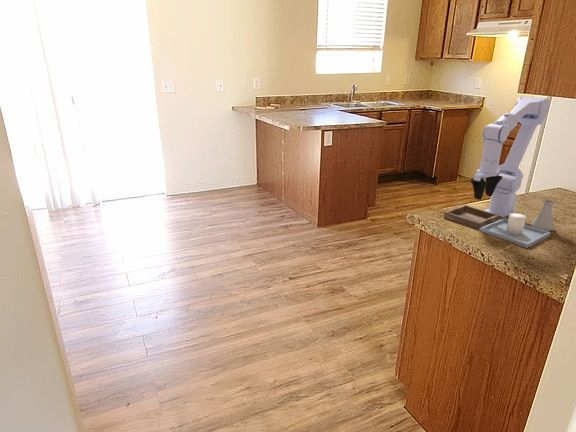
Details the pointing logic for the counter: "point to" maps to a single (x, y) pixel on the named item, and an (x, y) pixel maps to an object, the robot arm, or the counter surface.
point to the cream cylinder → (515, 224)
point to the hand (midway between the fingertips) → (483, 196)
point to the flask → (545, 217)
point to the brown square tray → (471, 216)
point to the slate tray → (524, 240)
